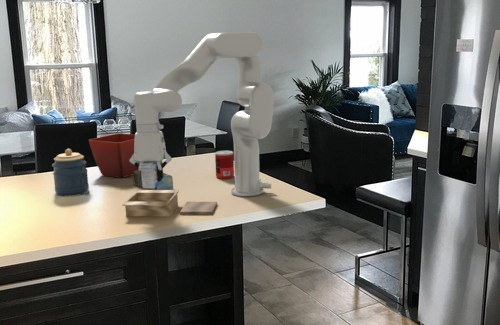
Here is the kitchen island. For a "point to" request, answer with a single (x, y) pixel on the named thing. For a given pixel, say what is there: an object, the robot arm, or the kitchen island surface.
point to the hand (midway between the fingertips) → (152, 180)
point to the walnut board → (198, 208)
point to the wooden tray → (152, 203)
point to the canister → (70, 174)
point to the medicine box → (149, 175)
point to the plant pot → (114, 154)
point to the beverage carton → (165, 185)
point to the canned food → (224, 164)
